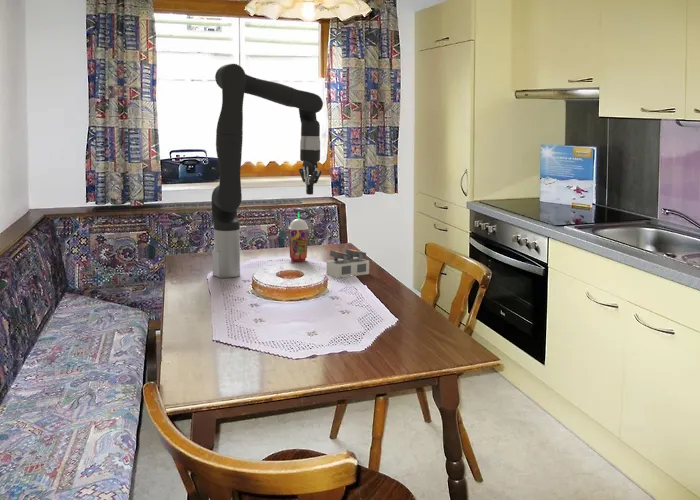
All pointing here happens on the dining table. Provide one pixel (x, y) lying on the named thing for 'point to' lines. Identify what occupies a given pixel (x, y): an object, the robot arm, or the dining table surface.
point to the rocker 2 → (355, 253)
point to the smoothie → (298, 240)
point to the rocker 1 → (339, 254)
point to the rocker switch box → (347, 266)
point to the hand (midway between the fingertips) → (309, 194)
